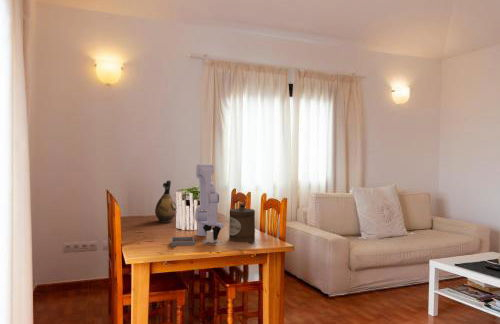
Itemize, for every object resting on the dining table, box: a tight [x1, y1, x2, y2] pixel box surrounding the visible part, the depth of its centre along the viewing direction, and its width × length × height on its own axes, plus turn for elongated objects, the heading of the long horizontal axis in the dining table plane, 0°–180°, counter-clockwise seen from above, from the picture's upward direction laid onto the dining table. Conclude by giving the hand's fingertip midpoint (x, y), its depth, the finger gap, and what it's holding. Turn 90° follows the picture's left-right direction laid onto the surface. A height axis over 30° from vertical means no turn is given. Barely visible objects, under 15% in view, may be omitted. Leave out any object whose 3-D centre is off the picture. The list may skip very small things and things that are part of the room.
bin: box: [170, 236, 195, 249], centre depth 218 cm, size 12×12×3 cm
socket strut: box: [205, 229, 219, 243], centre depth 220 cm, size 4×4×6 cm
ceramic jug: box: [154, 180, 177, 223], centre depth 292 cm, size 17×15×30 cm
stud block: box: [201, 239, 223, 246], centre depth 220 cm, size 12×10×5 cm
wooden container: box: [228, 202, 256, 244], centre depth 230 cm, size 15×15×22 cm
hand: (211, 239), depth 220 cm, fingers closed on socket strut, 4 cm apart
